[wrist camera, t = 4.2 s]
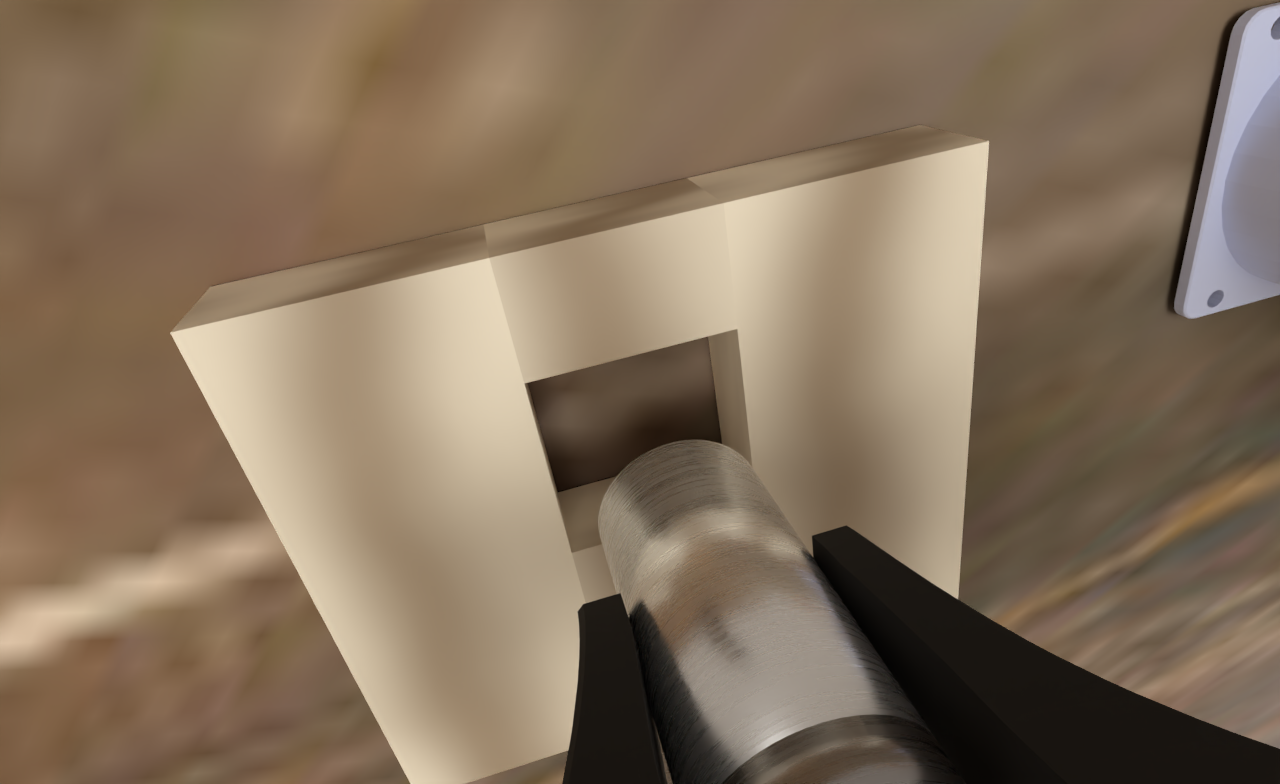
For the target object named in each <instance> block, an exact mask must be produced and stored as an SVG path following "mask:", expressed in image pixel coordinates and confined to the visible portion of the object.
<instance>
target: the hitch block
mask: <svg viewBox="0 0 1280 784" xmlns="http://www.w3.org/2000/svg"><path fill="white" fill-rule="evenodd" d="M988 150H989V141H987V140H983V139H979V138H974V137H970V136H966V135H961V134H957V133H953V132H948V131H944V130H940V129H936V128H931V127H927V126H923V125H917V126H913V127H909V128H904V129H900V130H896V131H891V132H887V133H882V134H878V135H874V136H869V137H865V138H860V139H856V140H852V141H847V142H843V143H839V144H834V145H830V146H825V147H821V148H817V149H812V150H808V151H803V152H799V153H795V154H790V155H786V156H782V157H777V158H773V159H768V160H764V161H760V162H755V163H751V164H746V165H742V166H738V167H733V168H729V169H725V170H720V171H716V172H711V173H707V174H703V175H698V176H694V177H690V178H685V179H681V180H676V181H672V182H668V183H663V184H659V185H654V186H650V187H646V188H641V189H637V190H633V191H628V192H624V193H619V194H615V195H611V196H606V197H602V198H597V199H593V200H589V201H584V202H580V203H576V204H571V205H567V206H562V207H558V208H554V209H549V210H545V211H540V212H536V213H532V214H527V215H523V216H519V217H514V218H510V219H505V220H501V221H497V222H492V223H488V224H483V225H479V226H475V227H470V228H466V229H462V230H457V231H453V232H448V233H444V234H440V235H435V236H431V237H427V238H422V239H418V240H413V241H409V242H405V243H400V244H396V245H391V246H387V247H383V248H378V249H374V250H370V251H365V252H361V253H356V254H352V255H348V256H343V257H339V258H334V259H330V260H326V261H321V262H317V263H313V264H308V265H304V266H299V267H295V268H291V269H286V270H282V271H277V272H273V273H269V274H264V275H260V276H256V277H251V278H247V279H242V280H238V281H234V282H229V283H225V284H220V285H216V286H212V287H210V288H209V289H208V290H207V291H206V292H205V293H204V295H203V296H202V297H201V298H200V299H199V300H198V301H197V303H196V304H195V305H194V306H193V307H192V308H191V309H190V311H189V312H188V313H187V314H186V315H185V316H184V317H183V319H182V320H181V321H180V322H179V323H178V324H177V325H176V327H175V328H174V329H173V330H172V331H171V332H170V333H171V335H172V337H173V339H174V341H175V343H176V344H177V346H178V348H179V350H180V352H181V354H182V356H183V358H184V359H185V361H186V363H187V365H188V367H189V369H190V371H191V373H192V374H193V376H194V378H195V380H196V382H197V384H198V386H199V388H200V389H201V391H202V393H203V395H204V397H205V399H206V401H207V403H208V404H209V406H210V408H211V410H212V412H213V414H214V416H215V418H216V419H217V421H218V423H219V425H220V427H221V429H222V431H223V433H224V434H225V436H226V438H227V440H228V442H229V444H230V446H231V448H232V449H233V451H234V453H235V455H236V457H237V459H238V461H239V463H240V464H241V466H242V468H243V470H244V472H245V474H246V476H247V478H248V479H249V481H250V483H251V485H252V487H253V489H254V491H255V493H256V494H257V496H258V498H259V500H260V502H261V504H262V506H263V508H264V510H265V511H266V513H267V515H268V517H269V519H270V521H271V523H272V525H273V526H274V528H275V530H276V532H277V534H278V536H279V538H280V540H281V541H282V543H283V545H284V547H285V549H286V551H287V553H288V555H289V556H290V558H291V560H292V562H293V564H294V566H295V568H296V570H297V571H298V573H299V575H300V577H301V579H302V581H303V583H304V585H305V586H306V588H307V590H308V592H309V594H310V596H311V598H312V600H313V601H314V603H315V605H316V607H317V609H318V611H319V613H320V615H321V616H322V618H323V620H324V622H325V624H326V626H327V628H328V630H329V631H330V633H331V635H332V637H333V639H334V641H335V643H336V645H337V646H338V648H339V650H340V652H341V654H342V656H343V658H344V660H345V661H346V663H347V665H348V667H349V669H350V671H351V673H352V675H353V676H354V678H355V680H356V682H357V684H358V686H359V688H360V690H361V691H362V693H363V695H364V697H365V699H366V701H367V703H368V705H369V706H370V708H371V710H372V712H373V714H374V716H375V718H376V720H377V721H378V723H379V725H380V727H381V729H382V731H383V733H384V735H385V736H386V738H387V740H388V742H389V744H390V746H391V748H392V750H393V751H394V753H395V755H396V757H397V759H398V761H399V763H400V765H401V767H402V768H403V770H404V772H405V774H406V776H407V778H408V780H409V782H410V783H411V784H465V783H468V782H471V781H474V780H478V779H481V778H484V777H487V776H490V775H493V774H496V773H499V772H502V771H505V770H509V769H512V768H515V767H518V766H521V765H524V764H527V763H530V762H533V761H536V760H540V759H543V758H546V757H549V756H552V755H555V754H558V753H561V752H564V751H567V750H569V745H570V739H571V733H572V726H573V718H574V709H575V701H576V692H577V683H578V669H579V647H580V638H579V620H578V610H579V609H580V608H581V606H582V605H583V604H585V603H589V602H592V601H595V600H599V599H602V598H605V597H609V596H612V595H615V594H617V593H616V590H615V586H614V583H613V579H612V576H611V573H610V569H609V566H608V562H607V559H606V556H605V552H604V549H603V545H602V542H601V538H600V535H599V529H598V516H599V510H600V506H601V502H602V500H603V497H604V495H605V493H606V491H607V489H608V487H609V486H610V484H611V483H612V481H613V480H614V479H615V477H612V478H608V479H605V480H601V481H598V482H594V483H590V484H587V485H583V486H579V487H576V488H572V489H569V490H565V491H561V492H557V488H556V484H555V481H554V477H553V474H552V470H551V466H550V463H549V459H548V455H547V452H546V448H545V445H544V441H543V437H542V434H541V430H540V427H539V423H538V419H537V416H536V412H535V409H534V405H533V401H532V398H531V394H530V391H529V387H528V382H532V381H536V380H540V379H544V378H548V377H552V376H556V375H560V374H563V373H567V372H571V371H575V370H579V369H583V368H587V367H591V366H595V365H598V364H602V363H606V362H610V361H614V360H618V359H622V358H626V357H630V356H633V355H637V354H641V353H645V352H649V351H653V350H657V349H661V348H665V347H668V346H672V345H676V344H680V343H684V342H688V341H692V340H696V339H700V338H704V337H707V336H708V342H709V349H710V357H711V364H712V372H713V379H714V387H715V394H716V402H717V409H718V417H719V424H720V432H721V440H722V444H723V445H726V446H728V447H730V448H732V449H734V450H735V451H737V452H738V453H739V454H741V455H742V456H743V457H744V458H745V459H746V460H747V461H748V462H749V464H750V465H751V467H752V468H753V469H754V471H755V472H756V474H757V475H758V477H759V478H760V480H761V481H762V483H763V484H764V486H765V487H766V489H767V490H768V492H769V493H770V495H771V496H772V498H773V499H774V500H775V502H776V503H777V505H778V506H779V508H780V509H781V511H782V512H783V514H784V515H785V517H786V518H787V520H788V521H789V523H790V524H791V526H792V527H793V529H794V530H795V532H796V533H797V534H798V536H799V537H800V539H801V540H802V542H803V543H804V545H805V546H806V548H807V549H808V551H809V552H810V554H811V555H812V557H813V546H812V536H813V535H816V534H819V533H823V532H826V531H829V530H833V529H836V528H839V527H843V526H846V525H847V526H849V527H850V528H852V529H853V530H855V531H856V532H858V533H859V534H861V535H862V536H864V537H865V538H867V539H868V540H869V541H871V542H872V543H874V544H875V545H877V546H878V547H880V548H881V549H882V550H884V551H885V552H887V553H888V554H890V555H891V556H893V557H894V558H895V559H897V560H898V561H900V562H901V563H903V564H904V565H906V566H907V567H909V568H910V569H912V570H913V571H915V572H916V573H918V574H919V575H921V576H922V577H924V578H925V579H927V580H928V581H930V582H931V583H933V584H934V585H936V586H937V587H939V588H941V589H942V590H944V591H945V592H947V593H949V594H950V595H952V596H953V597H955V598H957V599H958V593H959V578H960V563H961V548H962V534H963V519H964V504H965V489H966V475H967V460H968V445H969V430H970V416H971V401H972V386H973V371H974V357H975V342H976V327H977V312H978V298H979V283H980V268H981V253H982V239H983V224H984V209H985V195H986V180H987V165H988Z"/></svg>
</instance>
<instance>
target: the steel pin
mask: <svg viewBox="0 0 1280 784" xmlns="http://www.w3.org/2000/svg"><path fill="white" fill-rule="evenodd" d="M598 529H599V535H600V538H601V542H602V545H603V549H604V552H605V556H606V559H607V562H608V566H609V569H610V573H611V576H612V579H613V583H614V586H615V590H616V593H617V594H619V593H621V596H622V599H623V602H624V605H625V608H626V611H627V615H628V618H629V621H630V624H631V627H632V631H633V635H634V639H635V643H636V647H637V651H638V655H639V660H640V664H641V668H642V673H643V678H644V683H645V688H646V692H647V697H648V701H649V705H650V709H651V712H652V715H653V719H654V722H655V726H656V729H657V732H658V736H659V739H660V743H661V746H662V749H663V753H664V756H665V760H666V763H667V766H668V770H669V773H670V777H671V780H672V783H673V784H966V783H965V782H964V780H963V779H962V777H961V776H960V774H959V773H958V771H957V770H956V768H955V767H954V765H953V764H952V762H951V761H950V759H949V758H948V756H947V755H946V753H945V752H944V750H943V749H942V748H941V746H940V745H939V743H938V742H937V740H936V739H935V737H934V736H933V734H932V733H931V731H930V730H929V728H928V727H927V725H926V724H925V722H924V721H923V719H922V718H921V716H920V715H919V713H918V712H917V711H916V709H915V708H914V706H913V705H912V703H911V702H910V700H909V699H908V697H907V696H906V694H905V693H904V691H903V690H902V688H901V687H900V685H899V684H898V682H897V681H896V679H895V678H894V676H893V675H892V674H891V672H890V671H889V669H888V668H887V666H886V665H885V663H884V662H883V660H882V659H881V657H880V656H879V654H878V653H877V651H876V650H875V648H874V647H873V645H872V644H871V642H870V641H869V640H868V638H867V637H866V635H865V634H864V632H863V631H862V629H861V628H860V626H859V625H858V623H857V622H856V620H855V619H854V617H853V616H852V614H851V613H850V611H849V610H848V608H847V607H846V605H845V604H844V603H843V601H842V600H841V598H840V597H839V595H838V594H837V592H836V591H835V589H834V588H833V586H832V585H831V583H830V582H829V580H828V579H827V577H826V576H825V574H824V573H823V571H822V570H821V569H820V567H819V566H818V564H817V563H816V561H815V560H814V558H813V557H812V555H811V554H810V552H809V551H808V549H807V548H806V546H805V545H804V543H803V542H802V540H801V539H800V537H799V536H798V534H797V533H796V532H795V530H794V529H793V527H792V526H791V524H790V523H789V521H788V520H787V518H786V517H785V515H784V514H783V512H782V511H781V509H780V508H779V506H778V505H777V503H776V502H775V500H774V499H773V498H772V496H771V495H770V493H769V492H768V490H767V489H766V487H765V486H764V484H763V483H762V481H761V480H760V478H759V477H758V475H757V474H756V472H755V471H754V469H753V468H752V467H751V465H750V464H749V462H748V461H747V460H746V459H745V458H744V457H743V456H742V455H741V454H739V453H738V452H737V451H735V450H734V449H732V448H730V447H728V446H726V445H723V444H720V443H717V442H713V441H708V440H682V441H676V442H671V443H668V444H664V445H661V446H659V447H656V448H654V449H652V450H650V451H648V452H646V453H644V454H642V455H641V456H639V457H638V458H636V459H635V460H633V461H632V462H631V463H629V464H628V465H627V466H626V467H625V468H624V469H623V470H622V471H621V472H620V473H619V474H618V475H617V476H616V477H615V479H614V480H613V481H612V483H611V484H610V486H609V487H608V489H607V491H606V493H605V495H604V497H603V500H602V502H601V506H600V510H599V516H598Z"/></svg>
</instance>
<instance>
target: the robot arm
mask: <svg viewBox="0 0 1280 784" xmlns="http://www.w3.org/2000/svg"><path fill="white" fill-rule="evenodd" d="M1273 24H1274V26H1273ZM1272 26H1273V28H1272ZM1271 29H1272V31H1271ZM1277 295H1280V2H1279V3H1274V4H1270V5H1265V6H1261V7H1256V8H1253V9H1251V10H1248V11H1246V12H1245V13H1244V14H1243V15H1242V16H1241V17H1240V18H1239V19H1238V21H1237V22H1236V24H1235V25H1234V27H1233V30H1232V32H1231V35H1230V40H1229V45H1228V50H1227V54H1226V59H1225V64H1224V69H1223V73H1222V78H1221V83H1220V88H1219V92H1218V97H1217V102H1216V107H1215V111H1214V116H1213V121H1212V126H1211V130H1210V135H1209V140H1208V145H1207V149H1206V154H1205V159H1204V164H1203V168H1202V173H1201V178H1200V183H1199V187H1198V192H1197V197H1196V202H1195V206H1194V211H1193V216H1192V220H1191V225H1190V230H1189V235H1188V239H1187V244H1186V249H1185V254H1184V258H1183V263H1182V268H1181V273H1180V277H1179V282H1178V287H1177V292H1176V296H1175V301H1174V309H1175V311H1176V313H1177V314H1179V315H1182V316H1184V317H1186V318H1189V319H1193V318H1198V317H1202V316H1205V315H1209V314H1213V313H1216V312H1220V311H1223V310H1227V309H1231V308H1234V307H1238V306H1241V305H1245V304H1249V303H1252V302H1256V301H1259V300H1263V299H1267V298H1270V297H1274V296H1277ZM812 546H813V558H814V560H815V561H816V563H817V564H818V566H819V567H820V569H821V570H822V571H823V573H824V574H825V576H826V577H827V579H828V580H829V582H830V583H831V585H832V586H833V588H834V589H835V591H836V592H837V594H838V595H839V597H840V598H841V600H842V601H843V603H844V604H845V605H846V607H847V608H848V610H849V611H850V613H851V614H852V616H853V617H854V619H855V620H856V622H857V623H858V625H859V626H860V628H861V629H862V631H863V632H864V634H865V635H866V637H867V638H868V640H869V641H870V642H871V644H872V645H873V647H874V648H875V650H876V651H877V653H878V654H879V656H880V657H881V659H882V660H883V662H884V663H885V665H886V666H887V668H888V669H889V671H890V672H891V674H892V675H893V676H894V678H895V679H896V681H897V682H898V684H899V685H900V687H901V688H902V690H903V691H904V693H905V694H906V696H907V697H908V699H909V700H910V702H911V703H912V705H913V706H914V708H915V709H916V711H917V712H918V713H919V715H920V716H921V718H922V719H923V721H924V722H925V724H926V725H927V727H928V728H929V730H930V731H931V733H932V734H933V736H934V737H935V739H936V740H937V742H938V743H939V745H940V746H941V748H942V749H943V750H944V752H945V753H946V755H947V756H948V758H949V759H950V761H951V762H952V764H953V765H954V767H955V768H956V770H957V771H958V773H959V774H960V776H961V777H962V779H963V780H964V782H965V783H966V784H1280V749H1278V748H1275V747H1273V746H1270V745H1267V744H1264V743H1261V742H1258V741H1256V740H1253V739H1250V738H1247V737H1244V736H1241V735H1238V734H1236V733H1233V732H1230V731H1228V730H1225V729H1222V728H1220V727H1217V726H1215V725H1212V724H1209V723H1207V722H1204V721H1201V720H1199V719H1196V718H1194V717H1192V716H1189V715H1187V714H1184V713H1182V712H1179V711H1177V710H1175V709H1172V708H1170V707H1167V706H1165V705H1162V704H1160V703H1158V702H1155V701H1153V700H1150V699H1148V698H1146V697H1143V696H1141V695H1138V694H1136V693H1134V692H1131V691H1129V690H1127V689H1125V688H1122V687H1120V686H1118V685H1116V684H1114V683H1111V682H1109V681H1107V680H1105V679H1103V678H1101V677H1099V676H1097V675H1094V674H1092V673H1090V672H1088V671H1086V670H1084V669H1082V668H1080V667H1078V666H1076V665H1074V664H1072V663H1070V662H1068V661H1066V660H1064V659H1062V658H1060V657H1058V656H1056V655H1054V654H1052V653H1050V652H1048V651H1046V650H1044V649H1042V648H1040V647H1039V646H1037V645H1035V644H1033V643H1031V642H1029V641H1027V640H1026V639H1024V638H1022V637H1020V636H1019V635H1017V634H1015V633H1013V632H1012V631H1010V630H1008V629H1006V628H1005V627H1003V626H1001V625H999V624H998V623H996V622H994V621H992V620H991V619H989V618H987V617H986V616H984V615H982V614H981V613H979V612H977V611H976V610H974V609H972V608H971V607H969V606H968V605H966V604H964V603H963V602H961V601H960V600H958V599H957V598H955V597H953V596H952V595H950V594H949V593H947V592H945V591H944V590H942V589H941V588H939V587H937V586H936V585H934V584H933V583H931V582H930V581H928V580H927V579H925V578H924V577H922V576H921V575H919V574H918V573H916V572H915V571H913V570H912V569H910V568H909V567H907V566H906V565H904V564H903V563H901V562H900V561H898V560H897V559H895V558H894V557H893V556H891V555H890V554H888V553H887V552H885V551H884V550H882V549H881V548H880V547H878V546H877V545H875V544H874V543H872V542H871V541H869V540H868V539H867V538H865V537H864V536H862V535H861V534H859V533H858V532H856V531H855V530H853V529H852V528H850V527H849V526H847V525H846V526H843V527H839V528H836V529H833V530H829V531H826V532H823V533H819V534H816V535H813V536H812ZM578 620H579V638H580V647H579V669H578V683H577V692H576V701H575V709H574V718H573V726H572V733H571V739H570V745H569V750H568V756H567V761H566V767H565V772H564V778H563V783H562V784H668V783H667V778H666V773H665V768H664V763H663V757H662V752H661V747H660V742H659V738H658V734H657V730H656V726H655V722H654V719H653V715H652V712H651V709H650V705H649V701H648V697H647V692H646V688H645V683H644V678H643V673H642V668H641V664H640V660H639V655H638V651H637V647H636V643H635V639H634V635H633V631H632V627H631V624H630V621H629V618H628V615H627V611H626V608H625V605H624V602H623V599H622V596H621V593H619V594H615V595H612V596H609V597H605V598H602V599H599V600H595V601H592V602H589V603H585V604H583V605H582V606H581V608H580V609H579V610H578Z"/></svg>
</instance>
